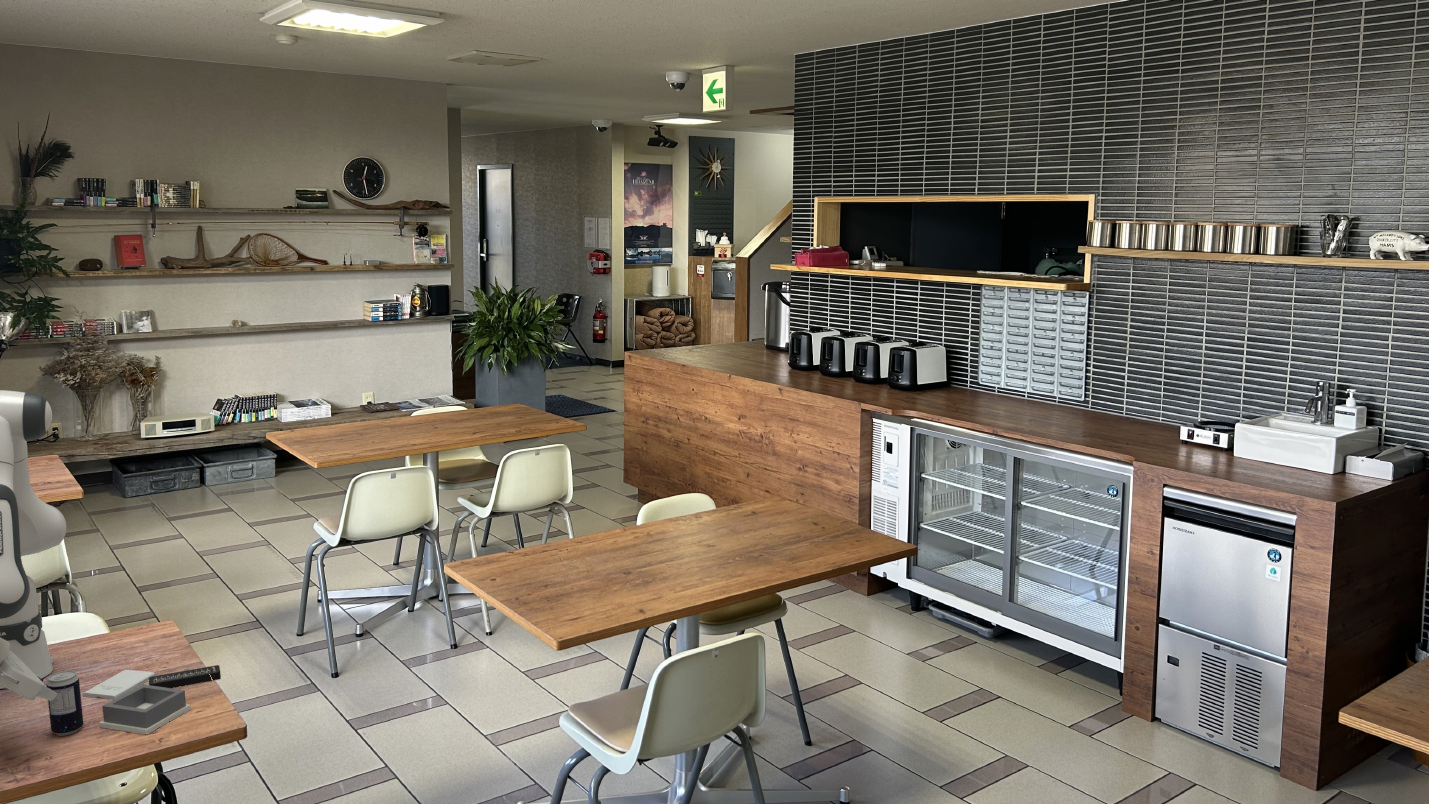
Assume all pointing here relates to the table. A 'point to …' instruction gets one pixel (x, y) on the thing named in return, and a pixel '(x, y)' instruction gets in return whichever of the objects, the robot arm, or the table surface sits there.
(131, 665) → the table surface
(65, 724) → the beverage can
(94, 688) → the external hard drive
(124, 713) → the square holder
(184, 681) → the multiport hub
